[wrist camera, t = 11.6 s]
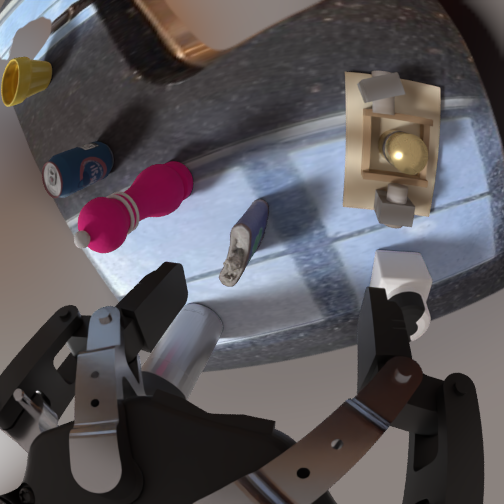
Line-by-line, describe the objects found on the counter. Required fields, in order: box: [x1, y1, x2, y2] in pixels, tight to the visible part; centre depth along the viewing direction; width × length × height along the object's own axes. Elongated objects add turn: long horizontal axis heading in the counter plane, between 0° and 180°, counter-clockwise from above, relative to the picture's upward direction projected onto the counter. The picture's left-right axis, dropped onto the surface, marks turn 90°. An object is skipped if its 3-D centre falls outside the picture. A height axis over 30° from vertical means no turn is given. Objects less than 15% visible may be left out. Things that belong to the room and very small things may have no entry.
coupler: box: [378, 130, 428, 175], centre depth 24 cm, size 4×4×7 cm
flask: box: [219, 199, 269, 287], centre depth 34 cm, size 9×3×11 cm, turn 165°
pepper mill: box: [74, 161, 193, 253], centre depth 30 cm, size 7×7×20 cm
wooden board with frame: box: [343, 71, 440, 228], centre depth 25 cm, size 17×12×6 cm
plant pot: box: [1, 57, 52, 107], centre depth 30 cm, size 10×10×10 cm
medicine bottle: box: [370, 250, 432, 342], centre depth 31 cm, size 7×7×12 cm
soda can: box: [42, 141, 114, 198], centre depth 35 cm, size 7×7×12 cm
